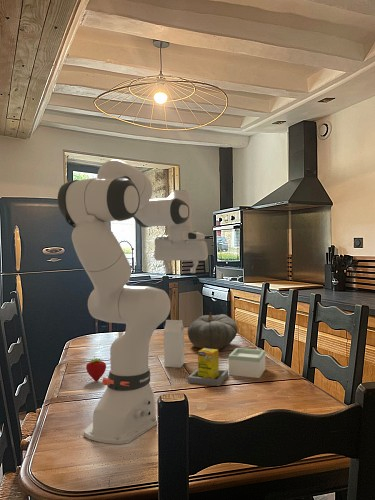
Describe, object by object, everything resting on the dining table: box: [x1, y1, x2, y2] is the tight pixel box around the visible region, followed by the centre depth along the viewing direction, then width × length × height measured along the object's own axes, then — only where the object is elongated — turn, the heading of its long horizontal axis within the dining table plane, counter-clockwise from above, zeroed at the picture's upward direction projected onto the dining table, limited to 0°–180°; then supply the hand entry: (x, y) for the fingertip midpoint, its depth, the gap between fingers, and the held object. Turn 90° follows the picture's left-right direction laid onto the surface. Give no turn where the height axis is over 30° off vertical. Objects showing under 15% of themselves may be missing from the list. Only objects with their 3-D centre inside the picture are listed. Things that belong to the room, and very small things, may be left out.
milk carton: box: [163, 319, 186, 368], centre depth 169 cm, size 7×7×19 cm
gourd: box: [187, 311, 239, 351], centre depth 198 cm, size 25×25×17 cm
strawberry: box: [85, 355, 107, 382], centre depth 150 cm, size 6×8×10 cm
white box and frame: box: [187, 347, 266, 387], centre depth 155 cm, size 25×24×8 cm
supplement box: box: [197, 348, 220, 379], centre depth 151 cm, size 6×6×11 cm
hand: (180, 272), depth 147 cm, fingers open, 8 cm apart
